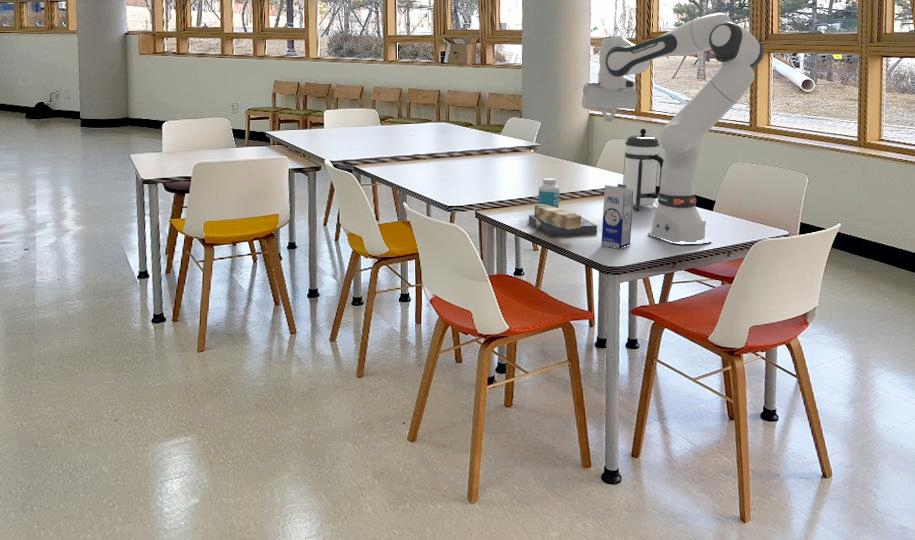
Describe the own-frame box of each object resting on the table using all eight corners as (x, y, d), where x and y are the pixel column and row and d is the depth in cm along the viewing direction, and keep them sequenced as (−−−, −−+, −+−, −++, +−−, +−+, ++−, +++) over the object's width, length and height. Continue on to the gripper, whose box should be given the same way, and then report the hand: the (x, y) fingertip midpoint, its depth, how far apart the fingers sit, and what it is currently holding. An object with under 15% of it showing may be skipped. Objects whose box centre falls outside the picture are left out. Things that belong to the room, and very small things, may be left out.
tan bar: (531, 216, 325) (531, 205, 324) (543, 215, 328) (543, 203, 327) (568, 229, 308) (568, 217, 307) (580, 227, 310) (581, 215, 309)
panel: (596, 234, 321) (597, 222, 320) (546, 236, 316) (547, 224, 315) (573, 221, 340) (574, 209, 339) (526, 223, 335) (526, 211, 334)
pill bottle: (557, 218, 344) (558, 181, 340) (536, 217, 346) (538, 180, 342) (559, 213, 351) (560, 177, 348) (539, 212, 353) (540, 176, 349)
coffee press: (615, 210, 359) (620, 130, 351) (621, 202, 374) (626, 125, 365) (662, 213, 354) (668, 132, 346) (666, 205, 369) (672, 127, 360)
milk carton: (600, 245, 306) (604, 184, 300) (611, 242, 311) (614, 181, 305) (620, 249, 302) (624, 187, 296) (630, 245, 307) (634, 184, 301)
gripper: (587, 83, 333) (585, 122, 337) (640, 82, 339) (637, 121, 343) (580, 81, 339) (578, 120, 343) (632, 81, 345) (629, 119, 348)
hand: (608, 121), depth 343 cm, fingers closed
